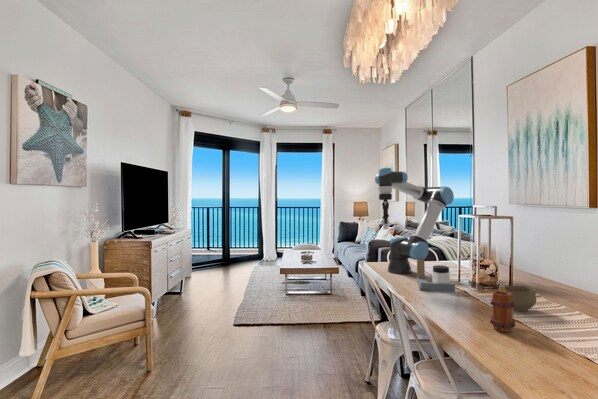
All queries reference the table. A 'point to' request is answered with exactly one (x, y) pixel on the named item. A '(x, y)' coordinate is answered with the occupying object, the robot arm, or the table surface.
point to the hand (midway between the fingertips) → (386, 228)
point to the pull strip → (430, 286)
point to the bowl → (522, 297)
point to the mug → (502, 310)
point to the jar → (440, 274)
